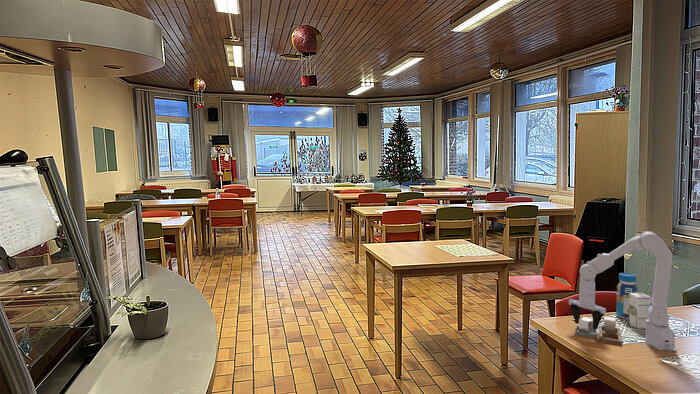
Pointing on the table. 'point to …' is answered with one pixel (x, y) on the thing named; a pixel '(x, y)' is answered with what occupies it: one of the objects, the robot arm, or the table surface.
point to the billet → (609, 324)
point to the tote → (586, 333)
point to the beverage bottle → (625, 293)
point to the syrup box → (638, 309)
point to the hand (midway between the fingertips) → (586, 325)
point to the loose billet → (586, 325)
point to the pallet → (610, 336)
